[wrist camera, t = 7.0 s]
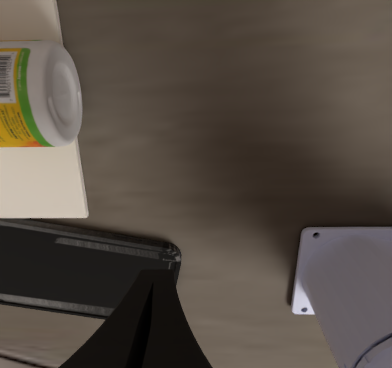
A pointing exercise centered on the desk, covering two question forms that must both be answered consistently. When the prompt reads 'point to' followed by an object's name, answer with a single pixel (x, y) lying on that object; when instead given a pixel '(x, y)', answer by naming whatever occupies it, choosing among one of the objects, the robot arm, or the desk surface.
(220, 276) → the desk surface
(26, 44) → the supplement bottle
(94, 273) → the phone
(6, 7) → the sticky note pad
